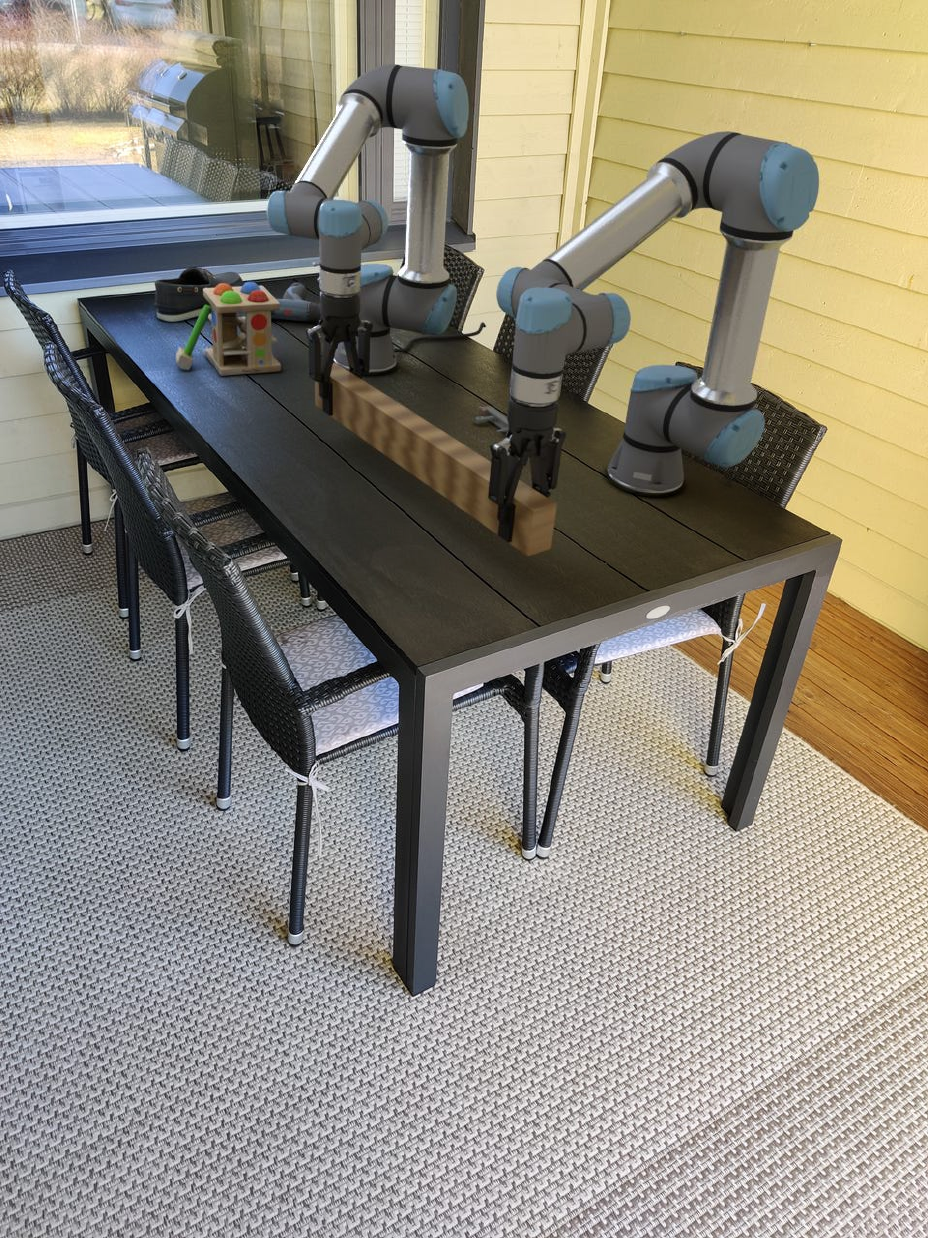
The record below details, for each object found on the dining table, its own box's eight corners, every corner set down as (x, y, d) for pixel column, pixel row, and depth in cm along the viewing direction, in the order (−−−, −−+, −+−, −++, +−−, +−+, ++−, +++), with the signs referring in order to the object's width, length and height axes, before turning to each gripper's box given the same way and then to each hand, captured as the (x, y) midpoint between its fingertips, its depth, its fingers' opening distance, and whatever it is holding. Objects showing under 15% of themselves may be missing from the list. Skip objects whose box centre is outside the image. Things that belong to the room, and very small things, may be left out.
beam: (315, 405, 197) (314, 366, 192) (335, 401, 199) (335, 362, 195) (528, 556, 154) (534, 511, 150) (550, 549, 157) (557, 503, 152)
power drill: (344, 304, 276) (335, 327, 259) (277, 298, 275) (264, 321, 258) (344, 285, 273) (335, 306, 256) (277, 279, 272) (264, 300, 255)
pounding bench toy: (183, 379, 220) (176, 299, 210) (169, 357, 231) (162, 280, 221) (282, 371, 230) (280, 294, 220) (264, 350, 240) (262, 276, 230)
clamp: (466, 408, 215) (505, 402, 219) (466, 417, 216) (504, 412, 220) (502, 435, 204) (542, 429, 209) (501, 445, 205) (541, 438, 210)
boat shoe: (262, 300, 274) (260, 262, 268) (174, 323, 250) (170, 282, 245) (229, 292, 279) (226, 254, 274) (139, 314, 256) (134, 273, 250)
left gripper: (307, 303, 174) (309, 425, 187) (391, 291, 183) (387, 409, 196) (287, 291, 178) (290, 411, 192) (370, 280, 188) (367, 395, 201)
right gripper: (502, 418, 138) (488, 559, 152) (595, 396, 148) (573, 530, 161) (471, 399, 143) (459, 537, 156) (562, 379, 152) (544, 511, 166)
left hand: (339, 410), depth 194 cm, fingers closed on beam, 5 cm apart
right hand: (517, 533), depth 159 cm, fingers closed on beam, 5 cm apart
